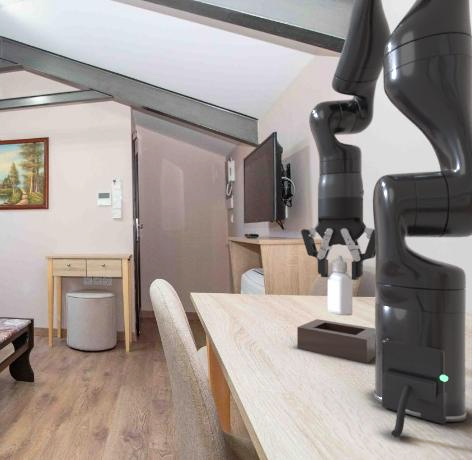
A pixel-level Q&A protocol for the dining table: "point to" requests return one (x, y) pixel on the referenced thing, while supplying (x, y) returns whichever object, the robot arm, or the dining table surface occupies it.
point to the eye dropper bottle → (339, 289)
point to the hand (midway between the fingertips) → (339, 277)
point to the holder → (337, 340)
